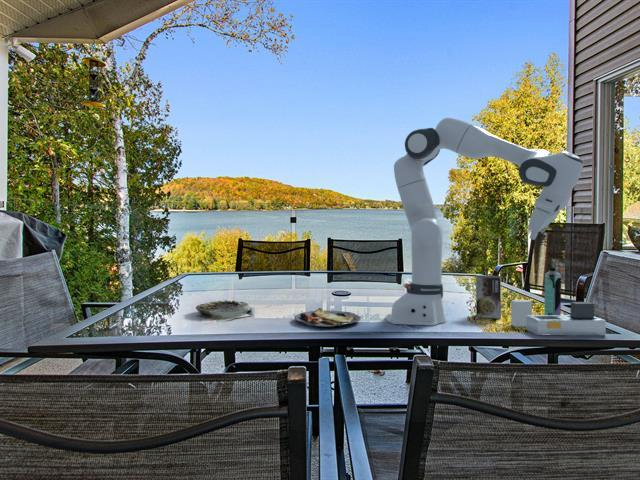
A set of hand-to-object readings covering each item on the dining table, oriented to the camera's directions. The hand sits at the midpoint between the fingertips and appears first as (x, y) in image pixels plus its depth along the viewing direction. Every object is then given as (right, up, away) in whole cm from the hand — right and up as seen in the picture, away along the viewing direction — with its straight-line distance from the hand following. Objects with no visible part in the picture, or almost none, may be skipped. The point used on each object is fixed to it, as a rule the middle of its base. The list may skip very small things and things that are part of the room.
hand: (536, 235), depth 151 cm
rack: (+5, -33, -8) cm, 34 cm away
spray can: (+11, -32, +11) cm, 36 cm away
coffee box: (-10, -32, +17) cm, 38 cm away
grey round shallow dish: (-118, -33, +26) cm, 126 cm away
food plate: (-75, -33, +10) cm, 82 cm away
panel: (-5, -33, +2) cm, 33 cm away
